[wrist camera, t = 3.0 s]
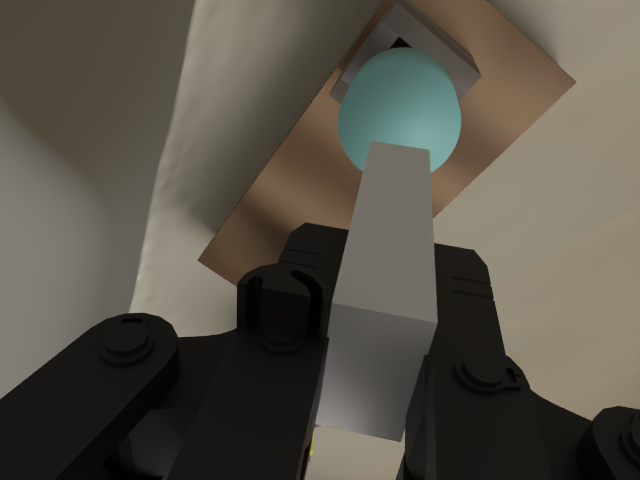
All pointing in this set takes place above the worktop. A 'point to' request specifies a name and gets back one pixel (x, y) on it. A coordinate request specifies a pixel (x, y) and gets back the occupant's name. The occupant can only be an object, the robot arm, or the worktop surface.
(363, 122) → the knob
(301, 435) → the robot arm
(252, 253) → the mount
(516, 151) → the worktop surface
